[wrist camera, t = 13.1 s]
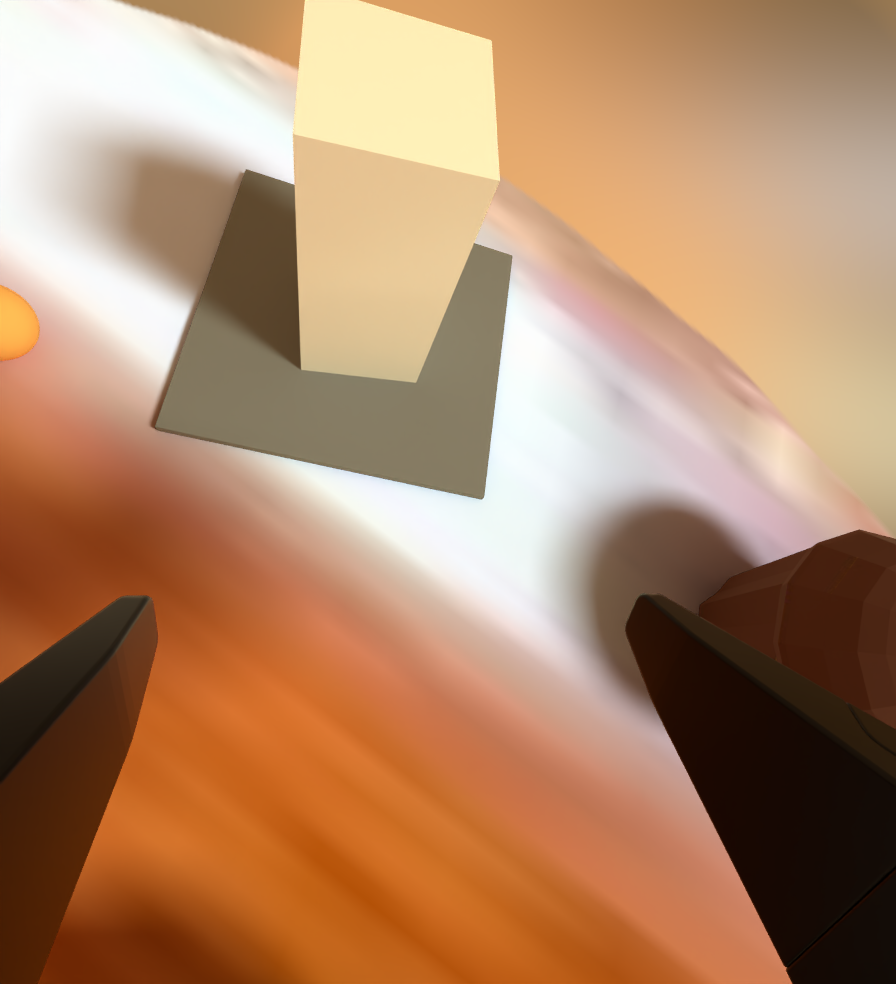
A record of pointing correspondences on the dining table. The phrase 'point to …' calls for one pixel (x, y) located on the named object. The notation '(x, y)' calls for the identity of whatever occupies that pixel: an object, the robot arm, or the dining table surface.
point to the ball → (16, 325)
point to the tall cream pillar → (386, 182)
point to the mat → (327, 396)
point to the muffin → (823, 617)
